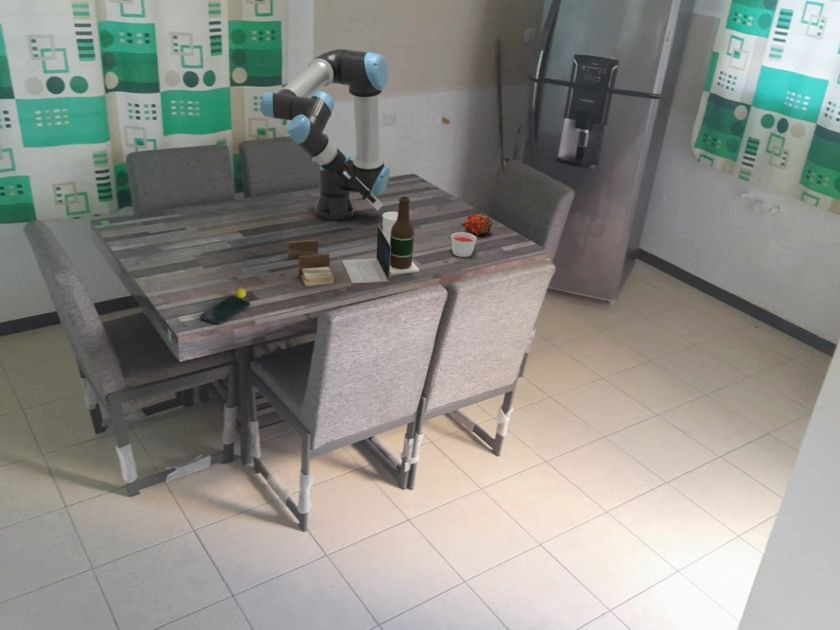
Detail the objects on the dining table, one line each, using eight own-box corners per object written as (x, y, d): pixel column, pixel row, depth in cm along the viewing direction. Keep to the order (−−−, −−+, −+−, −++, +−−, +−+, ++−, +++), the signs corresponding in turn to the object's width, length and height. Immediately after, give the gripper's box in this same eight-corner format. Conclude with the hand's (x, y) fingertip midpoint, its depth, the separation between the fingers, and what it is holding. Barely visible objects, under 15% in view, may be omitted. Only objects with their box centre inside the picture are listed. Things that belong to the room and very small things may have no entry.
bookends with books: (288, 258, 269) (288, 239, 266) (316, 255, 272) (316, 236, 269) (304, 286, 251) (304, 266, 247) (335, 283, 254) (335, 263, 251)
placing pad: (381, 262, 271) (381, 260, 271) (408, 259, 274) (408, 257, 274) (391, 274, 263) (391, 272, 262) (419, 271, 266) (419, 269, 266)
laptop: (341, 262, 270) (342, 226, 264) (377, 260, 273) (379, 225, 267) (351, 285, 255) (352, 247, 248) (389, 282, 258) (391, 246, 252)
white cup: (400, 246, 284) (401, 220, 280) (379, 243, 285) (380, 217, 281) (405, 238, 291) (406, 213, 286) (384, 235, 292) (385, 210, 288)
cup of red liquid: (477, 258, 280) (479, 242, 277) (452, 258, 278) (454, 242, 275) (471, 248, 287) (473, 232, 284) (447, 248, 286) (449, 232, 283)
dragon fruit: (493, 238, 302) (462, 242, 301) (489, 219, 305) (458, 223, 304) (495, 226, 294) (464, 230, 293) (491, 207, 297) (460, 211, 296)
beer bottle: (400, 258, 273) (405, 192, 262) (416, 265, 268) (421, 199, 257) (384, 263, 268) (387, 196, 257) (399, 271, 263) (403, 203, 252)
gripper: (309, 153, 252) (353, 195, 265) (332, 178, 232) (377, 222, 245) (326, 136, 252) (368, 179, 264) (349, 160, 232) (394, 205, 244)
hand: (373, 199), depth 255 cm, fingers open, 13 cm apart
